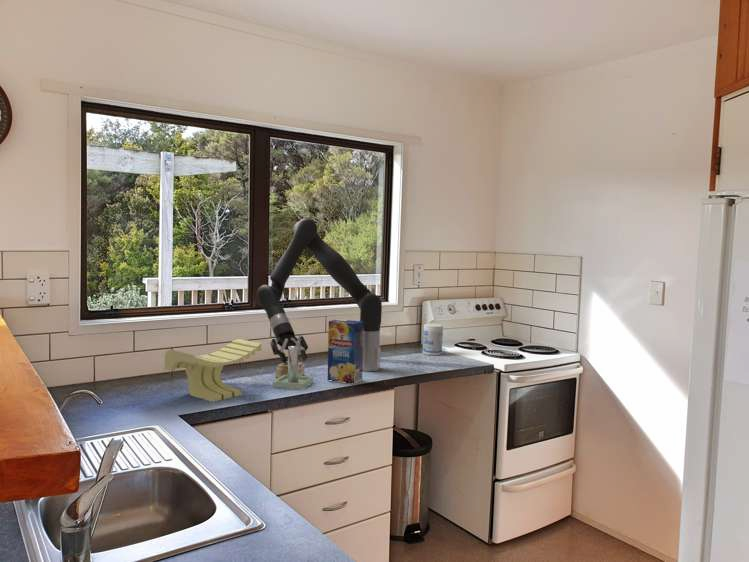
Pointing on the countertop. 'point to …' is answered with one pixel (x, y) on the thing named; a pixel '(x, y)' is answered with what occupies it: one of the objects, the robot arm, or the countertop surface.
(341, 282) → the robot arm
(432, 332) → the supplement tub
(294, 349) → the translucent grey cylinder
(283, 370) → the bracket block
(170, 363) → the slatted curved stool
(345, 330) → the juice carton
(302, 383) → the tray
